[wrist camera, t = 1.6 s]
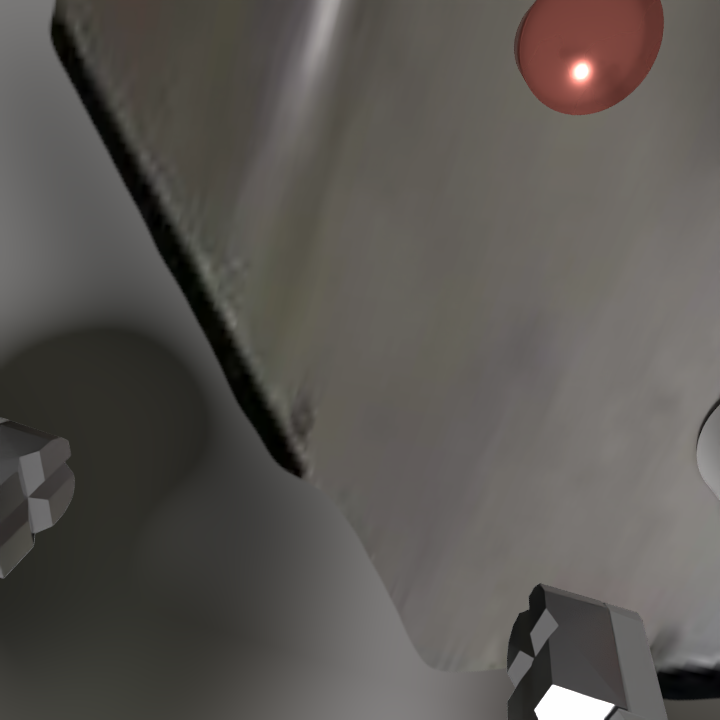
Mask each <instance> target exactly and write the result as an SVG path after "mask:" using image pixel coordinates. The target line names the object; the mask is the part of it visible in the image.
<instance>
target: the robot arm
mask: <svg viewBox="0 0 720 720" xmlns="http://www.w3.org/2000/svg"><path fill="white" fill-rule="evenodd" d="M70 455H71V452H70V447H69V442H68V440H65V439H63V438H61V437H58V436H54V435H52V434H49V433H46V432H43V431H40V430H37V429H34V428H31V427H28V426H25V425H22V424H19V423H16V422H13V421H10V420H7V419H3V418H0V577H1V578H4V577H6V575H7V574H8V573H9V572H10V571H11V570H12V569H13V568H14V567H15V566H16V565H17V564H18V563H19V561H20V560H21V559H22V558H23V557H24V556H25V555H26V554H27V553H28V552H29V551H30V550H31V549H32V548H33V546H34V538H35V533H37V532H39V531H42V530H44V529H46V528H49V527H51V526H53V525H54V524H55V523H56V522H57V520H58V519H59V518H60V517H61V516H62V515H63V514H64V512H65V510H66V509H67V507H68V505H69V503H70V501H71V499H72V497H73V491H74V486H75V482H74V474H73V473H72V471H71V470H70V469H69V468H68V466H67V465H66V464H65V463H64V462H65V461H66V460H67V459H68V458H69V457H70ZM697 463H698V467H699V470H700V473H701V475H702V477H703V479H704V481H705V482H706V484H707V485H708V486H709V488H710V489H711V490H712V491H713V492H714V494H715V495H716V496H717V497H718V499H719V500H720V405H719V406H718V407H717V408H716V409H715V411H714V412H713V413H712V414H711V416H710V417H709V419H708V420H707V422H706V423H705V425H704V427H703V429H702V431H701V434H700V437H699V440H698V445H697ZM507 674H508V676H509V677H510V679H511V681H512V683H513V684H514V686H515V690H514V692H513V693H512V695H511V696H510V698H509V700H508V701H507V718H508V720H668V719H667V715H666V711H665V707H664V703H663V699H662V695H661V691H660V687H659V683H658V679H657V675H656V671H655V667H654V663H653V660H652V656H651V652H650V648H649V644H648V640H647V636H646V632H645V628H644V624H643V620H642V619H641V617H640V616H639V614H638V613H637V612H634V611H630V610H627V609H624V608H620V607H617V606H614V605H611V604H607V603H602V602H601V601H599V600H596V599H592V598H589V597H585V596H582V595H578V594H575V593H572V592H568V591H565V590H561V589H558V588H555V587H551V586H548V585H544V584H541V583H539V584H538V585H536V586H535V587H534V588H533V590H532V592H531V593H530V595H529V610H526V611H524V612H521V613H519V615H518V617H517V619H516V621H515V623H514V624H513V627H512V631H511V634H510V638H509V642H508V651H507Z"/></svg>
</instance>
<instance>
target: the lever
mask: <svg viewBox="0 0 720 720" xmlns="http://www.w3.org/2000/svg"><path fill="white" fill-rule="evenodd" d="M663 28H664V17H663V9H662V5H661V1H660V0H536V2H535V3H534V4H533V5H532V6H531V7H530V8H529V10H528V11H527V12H526V14H525V15H524V17H523V18H522V20H521V22H520V24H519V27H518V29H517V32H516V36H515V42H514V54H515V60H516V64H517V66H518V69H519V71H520V73H521V74H522V76H523V78H524V79H525V81H526V83H527V85H528V86H529V88H530V90H531V91H532V92H533V94H534V95H535V96H536V97H537V98H538V99H539V100H540V101H541V102H542V103H543V104H545V105H546V106H547V107H549V108H551V109H553V110H555V111H558V112H561V113H565V114H570V115H585V114H591V113H596V112H599V111H602V110H605V109H607V108H609V107H611V106H613V105H615V104H617V103H618V102H620V101H621V100H623V99H624V98H626V97H627V96H628V95H629V94H630V93H632V92H633V91H634V90H635V89H636V88H637V87H638V86H639V84H640V83H641V82H642V81H643V79H644V78H645V77H646V75H647V74H648V72H649V71H650V69H651V67H652V65H653V63H654V61H655V59H656V57H657V54H658V52H659V49H660V45H661V41H662V36H663Z"/></svg>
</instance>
